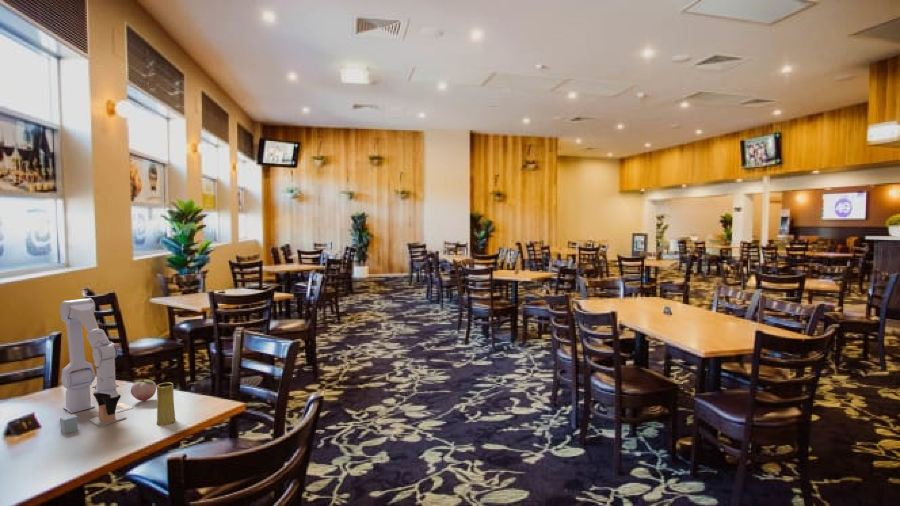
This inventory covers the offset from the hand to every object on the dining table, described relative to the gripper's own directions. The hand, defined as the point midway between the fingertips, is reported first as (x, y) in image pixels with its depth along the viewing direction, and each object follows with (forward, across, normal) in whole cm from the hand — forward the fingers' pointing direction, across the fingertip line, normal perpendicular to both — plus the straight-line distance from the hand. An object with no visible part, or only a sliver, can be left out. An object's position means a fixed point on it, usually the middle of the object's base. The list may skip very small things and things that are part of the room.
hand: (107, 412), depth 188 cm
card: (+3, -10, +7) cm, 13 cm away
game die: (+3, -30, +10) cm, 32 cm away
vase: (+3, +20, +12) cm, 24 cm away
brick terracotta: (+2, 0, 0) cm, 2 cm away
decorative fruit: (+3, -10, +17) cm, 20 cm away
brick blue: (+3, 0, -12) cm, 12 cm away
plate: (+3, 0, 0) cm, 3 cm away
